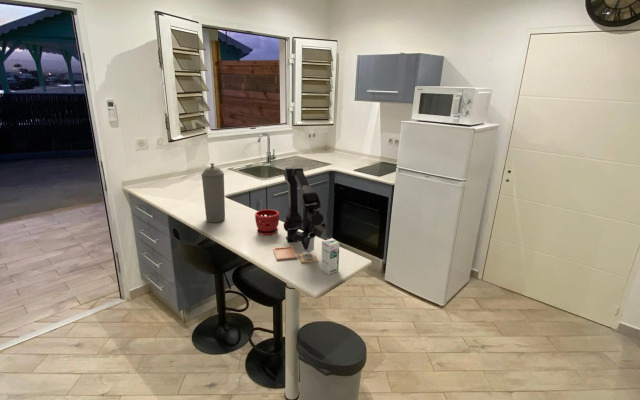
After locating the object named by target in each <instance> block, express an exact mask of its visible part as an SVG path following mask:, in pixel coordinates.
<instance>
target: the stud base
mask: <svg viewBox="0 0 640 400" xmlns="http://www.w3.org/2000/svg"><path fill="white" fill-rule="evenodd" d="M297 258H299V261H300V263H301V264H306V263H307V264H310V263H318V262H319V259H318V258H317V256H316V254H315V252H310V253H307V252H303V253H298V254H297Z"/></svg>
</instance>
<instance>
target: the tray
mask: <svg viewBox="0 0 640 400" xmlns="http://www.w3.org/2000/svg"><path fill="white" fill-rule="evenodd" d="M272 250H273V254H274V257H275V259H276V261H287V260H297V259H298V254H297V252H296V251H295V248H294V246H293V245H289V246H281V247H280V246H279V247H278V246H277V247H273V248H272Z"/></svg>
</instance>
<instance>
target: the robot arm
mask: <svg viewBox="0 0 640 400" xmlns="http://www.w3.org/2000/svg"><path fill="white" fill-rule="evenodd" d="M282 174H283V176H284V181H285V182H286V183H287V190H288V191H287V192H288V194H287V195H288V213H287V215H286V216H285V221H284V223H283V229H284V231H285V232H287V233H286V234H287V235H286V236H285V239H286V242H287V243H293V242H299V243H301V245H303V247H304V249H305V250H307V247H308V240H310V239H311V238H309V235H310V236H314V239H315V238H316V236H317V237H318V238H321V237H322V236H323V235H325V233H326V232H327V231H328V226H327V225H328V224H327V223H326V222H324V216H323V214H322V213H320V210H319V209H321V208H322V207H321V205H322V203H321V200H320V197H319V194H318V193H317V191H316V189H315V188H314V187H312V186H311V185H310V183H309V182H308V180H307V177H306V175H305V173H304V168H303V167H302V166H301V167H300V166H299V167H298V166H291V167H285V169H283V173H282ZM298 187H299V191H300V196H299V198H300V199H299V200H300V202H301V205H302V215H301V214H300V212H299V207H298V206H299V203H298ZM299 230H300V231H299Z"/></svg>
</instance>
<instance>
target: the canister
mask: <svg viewBox="0 0 640 400" xmlns="http://www.w3.org/2000/svg"><path fill="white" fill-rule="evenodd" d="M209 165H210V166H209V167H205V169H204V170H203V172H202V173H201V179H202V180H201V181H202V182H201V183H202V192H203V200H204V201H203V202H204V210H205V211H204V212H205V219H206V221H207V222H208V223H214V224H216V223H220V222H223V221H225V220H226V208H225V207H226V206H225V204H226V203H225V202H226V201H225V173H224V171H222V169H221V168H219V167H217V166H215V162H211V163H209Z"/></svg>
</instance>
